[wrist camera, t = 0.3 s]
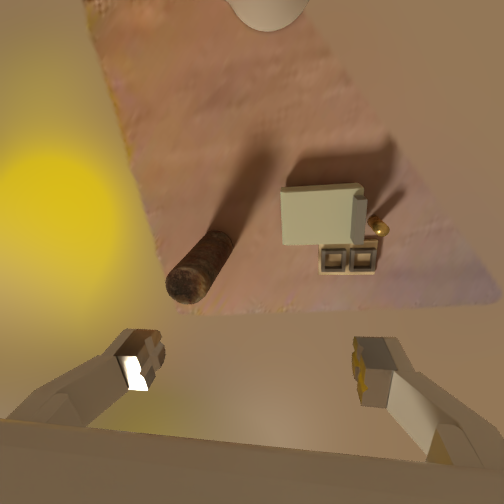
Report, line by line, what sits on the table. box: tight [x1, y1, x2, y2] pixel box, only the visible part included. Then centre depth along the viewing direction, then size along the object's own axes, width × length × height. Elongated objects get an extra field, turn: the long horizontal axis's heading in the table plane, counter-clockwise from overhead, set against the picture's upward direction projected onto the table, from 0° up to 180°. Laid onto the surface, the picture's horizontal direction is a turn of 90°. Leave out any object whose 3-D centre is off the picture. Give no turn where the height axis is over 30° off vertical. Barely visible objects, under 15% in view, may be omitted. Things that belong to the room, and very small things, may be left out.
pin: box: [367, 216, 389, 237], centre depth 51 cm, size 2×2×6 cm
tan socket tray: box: [318, 239, 378, 275], centre depth 57 cm, size 8×12×2 cm, turn 95°
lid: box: [280, 183, 368, 245], centre depth 49 cm, size 11×15×9 cm
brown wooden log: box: [165, 231, 233, 304], centre depth 52 cm, size 8×7×20 cm
